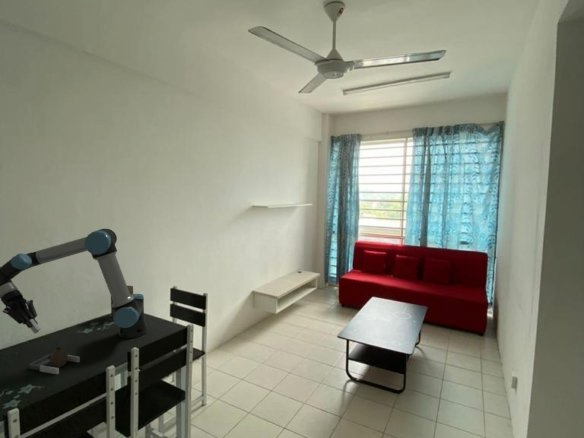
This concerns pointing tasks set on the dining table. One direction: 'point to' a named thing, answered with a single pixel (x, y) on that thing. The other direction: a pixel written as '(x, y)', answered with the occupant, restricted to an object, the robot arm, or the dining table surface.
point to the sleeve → (56, 370)
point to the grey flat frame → (40, 363)
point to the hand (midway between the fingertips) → (37, 331)
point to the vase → (58, 358)
